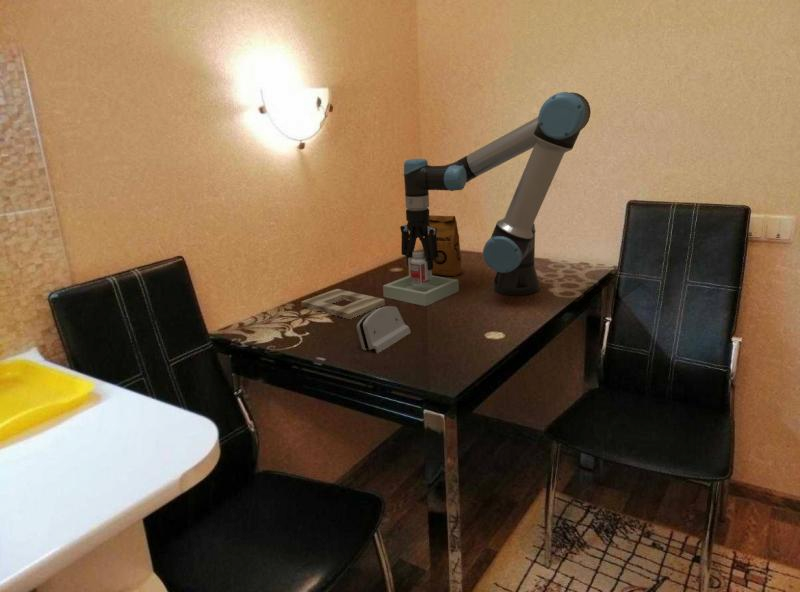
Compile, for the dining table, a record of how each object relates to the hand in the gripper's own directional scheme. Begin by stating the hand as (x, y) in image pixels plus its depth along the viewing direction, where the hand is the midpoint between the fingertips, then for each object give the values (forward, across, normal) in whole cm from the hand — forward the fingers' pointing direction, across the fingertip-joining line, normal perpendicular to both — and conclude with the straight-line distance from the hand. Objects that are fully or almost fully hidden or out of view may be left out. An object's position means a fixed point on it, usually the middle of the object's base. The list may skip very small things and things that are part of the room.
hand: (420, 277), depth 196 cm
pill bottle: (+3, 0, 0) cm, 3 cm away
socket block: (+6, -14, -23) cm, 28 cm away
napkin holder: (+6, +17, -37) cm, 41 cm away
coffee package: (+6, -8, +24) cm, 26 cm away
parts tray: (+6, 0, 0) cm, 6 cm away
